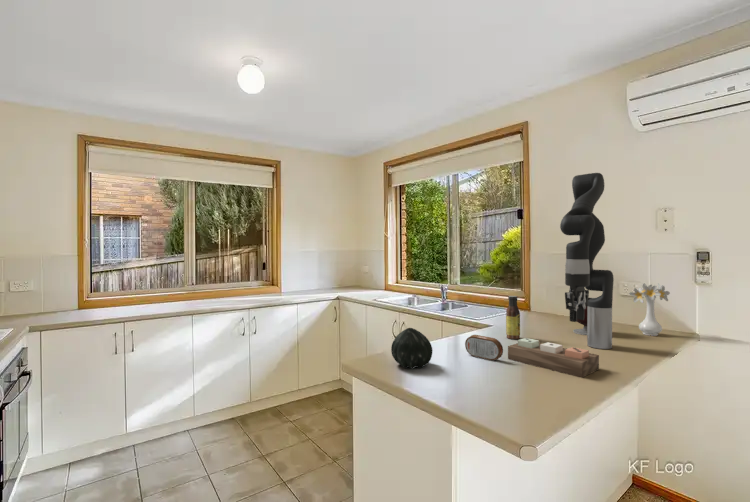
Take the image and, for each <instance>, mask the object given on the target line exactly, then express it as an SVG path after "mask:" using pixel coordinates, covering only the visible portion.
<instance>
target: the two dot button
mask: <svg viewBox="0 0 750 502" xmlns="http://www.w3.org/2000/svg"><path fill="white" fill-rule="evenodd" d="M517 343H518V346H523V347H527V348H535V347H538V346H539V343H540V340H538V339H532V338H528V337H524V338H519V339H517Z"/></svg>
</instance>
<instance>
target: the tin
mask: <svg viewBox="0 0 750 502" xmlns="http://www.w3.org/2000/svg"><path fill="white" fill-rule="evenodd" d="M464 345H465V351H466V352H467V354H469V355H470V356H472V357H474V356H475V358H478V357H479V359H484V360H488V361H496V360H498V359H500V358H502V356H503V353H504V348H503V345H502V343H501V342H500V341H499V339H498V338H497V339H496V338H495V337H489V336H484V335H478V334H471V335H470V336H468V337H467V338H466V340H465V342H464Z"/></svg>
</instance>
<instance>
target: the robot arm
mask: <svg viewBox="0 0 750 502" xmlns="http://www.w3.org/2000/svg"><path fill="white" fill-rule="evenodd" d="M571 184H572V185H571V186H572V193H573V199H574V200H573V201H574V202H573V203H572V206H571V209H570V210H569V211H568V212H567V213H566V214H565V215H564V216H563V217H562V219H561V221H560V225H559V228H560V231H561V232H562V234H564V235H565V236H579V240H578V241H571V242H568V243H567V244H566V247H565V265H564V266H565V269H564V271H565V272H564V273H565V274H564V275H565V278H564V280H565V281H564V284H565V286H568V287H569V290H568V292H566V291H565V292H564V300H565V309H566V310H568V311H569V322H572V323H573V322H574V323H578V322H577V319H580V320H584V311H585V308H586V307H587V313H588V314H587V335H586V337H587V340H586V341H587V347H590V348H594V349H600V350H609V349H610V350H611V349H612V348H613V301H614V300H613V294H614V280H615V279H614V274H613V273H614V272H612V271H611V270H609V269H594V267H593V265H594V264H593V263H594V261H595V258H597V255H598V254H599V252H600V251H601V250H602V248H603V246H604V244H605V241H606V236H605V227H604V224H603V222H602V221H601V220H600V219H599V218H598V217H597V216H596V215H595V213H594V208H595V206H596V204H597V203H598V201H599V199H600V198H601V197H602V195H603V192H604V191H605V178H604V175H603V174H602V173H600V172H591V173H585V174H577V175H575V176H573V178H572V180H571ZM590 291H594V292H602V293H601V295H599V296H598V297H597V296H596V297H591V298H592V299H589V300H588V297H589V298H590ZM574 301H575V302H574ZM577 308H579V309H577Z"/></svg>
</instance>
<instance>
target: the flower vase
mask: <svg viewBox="0 0 750 502" xmlns="http://www.w3.org/2000/svg"><path fill="white" fill-rule="evenodd" d="M657 284H658V285H653V284H649V285H647V284H646V283H642V285H641V286H642V287H639V288H636V287H635V288H634V289H633V291H634V292H632V291H630V292H629V295H630V296H632V297H633V302H634V303H638V301H639V302H640V303H642V304H644V298H645V301H646V311H645V314H646V315H645V317H644V319H643V321H640V323H639V325H638V329H639V330H640V331H641V332H642V334H643V335H645V336H650V335H651V337H652V336H653V337H654V336H655V337H656V336H657V337H658V335H659V333H662V331H663V326H662V325H661V324H660V322H658V320H657V318H656V315H655V301H656V298H657V296H659V300H660V301H662V300H665V301H666V302H669V299H668V298H669V297H668V296H670V294H671V293H670V291H668V290H666V287H665V285H660V283H657ZM657 286H658V287H657ZM643 297H644V298H643Z"/></svg>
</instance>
